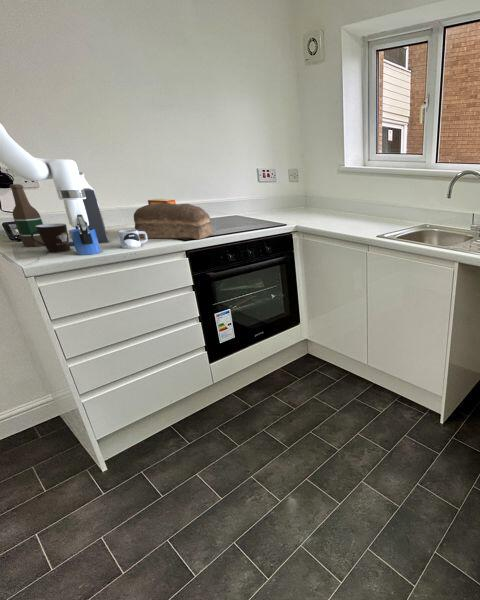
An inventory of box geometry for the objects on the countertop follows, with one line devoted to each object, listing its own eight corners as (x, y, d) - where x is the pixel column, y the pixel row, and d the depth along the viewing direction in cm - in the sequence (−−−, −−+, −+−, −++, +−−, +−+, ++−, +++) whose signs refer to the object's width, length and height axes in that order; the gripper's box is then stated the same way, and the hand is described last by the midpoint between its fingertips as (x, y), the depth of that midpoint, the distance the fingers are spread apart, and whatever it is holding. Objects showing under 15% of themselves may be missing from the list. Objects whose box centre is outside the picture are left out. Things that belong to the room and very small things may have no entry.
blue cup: (78, 256, 132) (70, 232, 129) (75, 252, 136) (68, 229, 133) (102, 253, 137) (96, 230, 134) (98, 249, 141) (92, 227, 138)
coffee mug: (68, 247, 144) (61, 222, 140) (77, 250, 139) (69, 225, 136) (30, 252, 134) (20, 226, 131) (38, 255, 130) (29, 229, 126)
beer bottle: (50, 242, 150) (30, 183, 142) (49, 245, 145) (28, 185, 136) (24, 244, 146) (3, 183, 137) (22, 248, 140) (-1, 185, 131)
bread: (203, 240, 164) (197, 205, 159) (132, 238, 162) (123, 203, 157) (216, 234, 178) (211, 202, 172) (151, 232, 176) (144, 200, 170)
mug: (126, 249, 144) (121, 232, 142) (118, 246, 147) (114, 230, 145) (152, 245, 152) (149, 229, 149) (145, 242, 155) (141, 227, 153)
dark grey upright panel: (59, 247, 143) (41, 191, 135) (55, 242, 151) (38, 189, 143) (108, 242, 154) (94, 190, 146) (103, 237, 162) (89, 188, 154)
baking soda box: (180, 230, 184) (174, 198, 179) (173, 232, 178) (166, 200, 173) (162, 229, 185) (156, 198, 179) (154, 231, 178) (147, 199, 173)
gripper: (55, 193, 132) (69, 240, 138) (61, 197, 121) (76, 247, 127) (81, 192, 137) (94, 237, 143) (89, 196, 126) (102, 244, 132)
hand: (85, 242), depth 135 cm, fingers closed on blue cup, 7 cm apart
